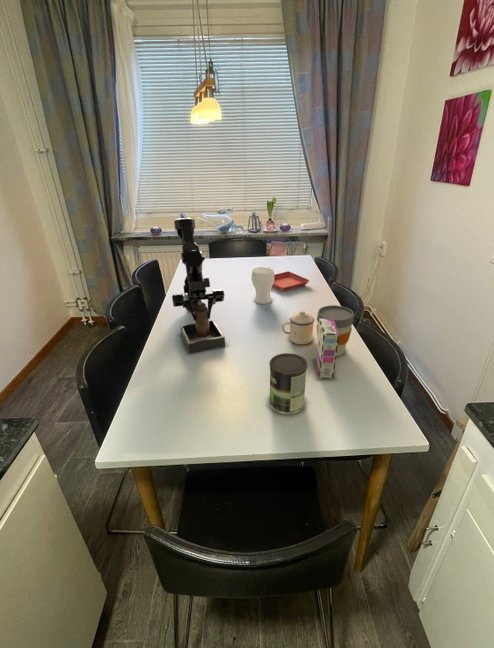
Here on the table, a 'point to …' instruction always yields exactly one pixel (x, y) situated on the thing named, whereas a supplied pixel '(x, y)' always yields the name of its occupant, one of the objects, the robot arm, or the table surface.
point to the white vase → (262, 283)
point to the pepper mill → (201, 319)
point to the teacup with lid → (300, 328)
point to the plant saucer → (288, 281)
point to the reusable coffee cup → (338, 323)
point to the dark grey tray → (199, 343)
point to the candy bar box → (326, 348)
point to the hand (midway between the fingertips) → (201, 319)
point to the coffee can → (287, 383)
